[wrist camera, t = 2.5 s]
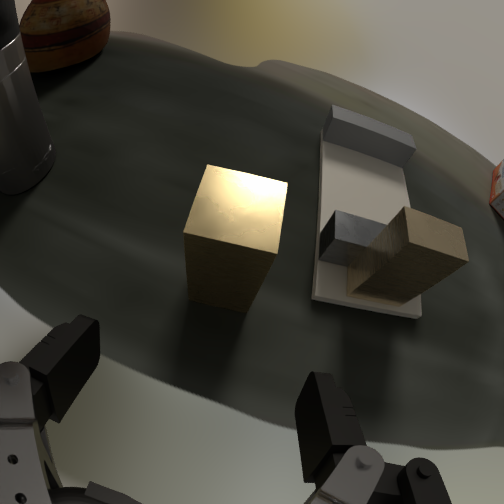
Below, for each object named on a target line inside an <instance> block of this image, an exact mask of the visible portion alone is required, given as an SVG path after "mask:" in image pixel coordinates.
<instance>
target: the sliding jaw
mask: <svg viewBox="0 0 504 504" xmlns="http://www.w3.org/2000/svg"><path fill="white" fill-rule="evenodd" d="M318 260H320V261H325V262H329V263H333V264H337V265H341V266H346V267H347V296H348V297H353V298H358V299H363V300H368V301H373V302H378V303H383V304H388V305H393V306H398V307H400V306H402V305H403V304H405V303H407V302H408V301H410V300H412V299H413V298H415V297H417V296H418V295H420V294H421V293H423V292H424V291H426V290H428V289H429V288H431V287H432V286H434V285H435V284H437V283H438V282H440V281H441V280H443V279H444V278H446V277H447V276H449V275H450V274H452V273H453V272H455V271H456V270H458V269H459V268H461V267H462V266H463V265H465V264H466V263H468V262H469V259H468V254H467V249H466V244H465V239H464V235H463V231H462V228H460V227H458V226H456V225H453V224H451V223H448V222H446V221H443V220H441V219H438V218H436V217H433V216H430V215H428V214H425V213H422V212H420V211H417V210H414V209H412V208H409V207H406V206H404V207H403V208H402V209H401V210H400V211H399V212H398V213H397V215H396V216H395V217H394V218H393V219H392V220H391V221H390V222H389V223H388V225H386V224H383V223H379V222H376V221H373V220H370V219H366V218H363V217H360V216H356V215H353V214H349V213H346V212H342V211H339V210H335V211H334V213H333V214H332V216H331V217H330V219H329V220H328V222H327V223H326V225H325V226H324V228H323V229H322V231H321V232H320V243H319V258H318Z"/></svg>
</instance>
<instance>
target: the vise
mask: <svg viewBox="0 0 504 504" xmlns="http://www.w3.org/2000/svg"><path fill="white" fill-rule="evenodd" d="M415 150H416V146H415V143H414V140H413V137H412V135H410V134H408V133H406V132H403V131H401V130H399V129H396V128H394V127H392V126H389V125H387V124H384V123H382V122H379V121H377V120H374V119H372V118H369V117H366V116H364V115H361V114H358V113H355V112H352V111H350V110H347V109H344V108H341V107H338V106H335V105H332V107H331V109H330V112H329V114H328V116H327V119H326V121H325V123H324V126H323V128H322V130H321V141H320V178H319V202H318V220H317V236H316V251H315V264H314V276H313V287H312V297H311V299H313V300H318V301H323V302H328V303H333V304H338V305H343V306H348V307H353V308H358V309H364V310H369V311H374V312H380V313H385V314H391V315H397V316H402V317H408V318H414V319H417V318H419V317H421V316H422V313H421V294H420V295H418V296H417V297H415V298H413V299H412V300H410V301H408V302H407V303H405V304H403V305H402V306H400V307H398V306H393V305H388V304H383V303H378V302H373V301H368V300H363V299H358V298H353V297H348V296H347V267H346V266H341V265H337V264H333V263H329V262H325V261H320V260H318V258H319V243H320V232H321V231H322V229H323V228H324V226H325V225H326V223H327V222H328V220H329V219H330V217H331V216H332V214H333V213H334V211H335V210H339V211H342V212H346V213H349V214H353V215H356V216H360V217H363V218H366V219H370V220H373V221H376V222H379V223H383V224H386V225H388V223H389V222H390V221H391V220H392V219H393V218H394V217H395V216H396V215H397V213H398V212H399V211H400V210H401V209H402V208H403V207H404V206H406V207H409V208H410V203H409V198H408V193H407V188H406V183H405V178H404V173H403V169H402V168H403V167H404V165H405V164H406V163H407V161H408V160H409V159H410V157H411V156H412V154H413V153H414V152H415Z"/></svg>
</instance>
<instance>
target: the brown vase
mask: <svg viewBox="0 0 504 504" xmlns="http://www.w3.org/2000/svg"><path fill="white" fill-rule="evenodd" d="M19 28H20V33H21V38H22V43H23V47H24V52H25V55H26V59H27V63H28V67H29V71H30V72H46V71H51V70H55V69H59V68H64V67H67V66H71V65H74V64H77V63H80V62H83V61H85V60H87V59H89V58H91V57H93V56H95V55H96V54H98V53H99V52H100V51H101V50H102V49H103V48H104V47H105V45H106V44H107V42H108V39H109V34H110V12H109V8H108V5H107V3H106V0H32V1H31V3H30V4H29V6H28V7H27V9H26V11H25V12H24V14H23V17H22V19H21V22H20V25H19Z"/></svg>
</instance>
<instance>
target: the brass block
mask: <svg viewBox="0 0 504 504" xmlns="http://www.w3.org/2000/svg"><path fill="white" fill-rule="evenodd" d="M286 189H287V183H284V182H280V181H276V180H272V179H268V178H264V177H260V176H256V175H252V174H247V173H243V172H239V171H234V170H230V169H225V168H220V167H216V166H211V165H207V168H206V170H205V173H204V176H203V178H202V181H201V184H200V186H199V189H198V192H197V195H196V197H195V200H194V203H193V206H192V209H191V211H190V214H189V217H188V220H187V223H186V226H185V229H184V232H183V234H184V248H185V261H186V273H187V284H188V295H189V300H190V301H194V302H199V303H203V304H207V305H211V306H216V307H220V308H224V309H229V310H233V311H238V312H242V313H247V312H248V310H249V308H250V306H251V304H252V302H253V301H254V299H255V297H256V295H257V293H258V291H259V289H260V287H261V285H262V283H263V281H264V279H265V277H266V275H267V273H268V271H269V269H270V267H271V265H272V263H273V261H274V259H275V257H276V255H277V253H278V246H279V239H280V232H281V225H282V218H283V211H284V204H285V197H286Z"/></svg>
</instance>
